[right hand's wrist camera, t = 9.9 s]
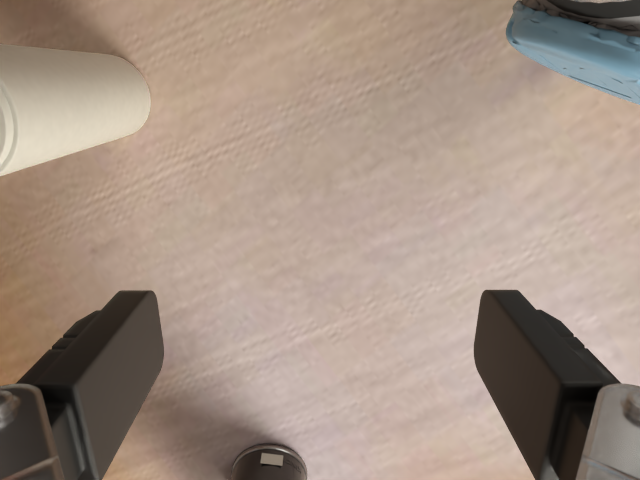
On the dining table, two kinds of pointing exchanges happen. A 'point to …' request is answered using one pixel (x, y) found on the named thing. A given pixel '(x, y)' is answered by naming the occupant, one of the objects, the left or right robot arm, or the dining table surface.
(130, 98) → the bottle
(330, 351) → the dining table surface
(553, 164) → the dining table surface
